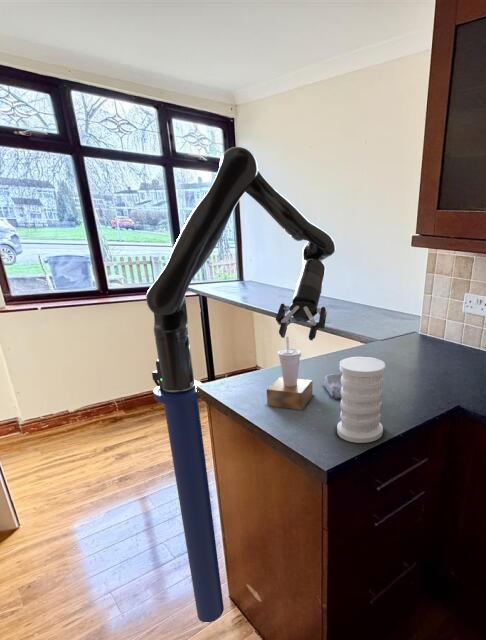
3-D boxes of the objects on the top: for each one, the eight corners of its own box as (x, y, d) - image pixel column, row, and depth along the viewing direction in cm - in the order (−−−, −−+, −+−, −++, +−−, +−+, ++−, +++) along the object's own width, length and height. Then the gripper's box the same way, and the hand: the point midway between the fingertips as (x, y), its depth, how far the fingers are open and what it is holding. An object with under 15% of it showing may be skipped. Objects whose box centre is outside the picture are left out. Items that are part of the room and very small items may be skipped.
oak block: (267, 405, 113) (266, 389, 111) (280, 392, 122) (280, 376, 121) (301, 409, 112) (301, 393, 110) (312, 395, 121) (312, 380, 119)
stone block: (350, 387, 133) (320, 384, 128) (353, 374, 131) (324, 370, 127) (361, 403, 122) (330, 401, 118) (365, 389, 121) (334, 386, 117)
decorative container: (327, 428, 102) (328, 361, 96) (363, 416, 109) (365, 353, 103) (356, 448, 94) (358, 375, 88) (392, 433, 101) (397, 366, 95)
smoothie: (274, 384, 115) (271, 336, 110) (291, 378, 120) (289, 332, 114) (289, 390, 111) (288, 341, 106) (306, 384, 116) (305, 336, 111)
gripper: (282, 281, 120) (268, 328, 114) (328, 285, 118) (317, 333, 111) (289, 297, 127) (276, 342, 120) (333, 300, 124) (322, 346, 118)
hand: (296, 337), depth 116 cm, fingers open, 8 cm apart
